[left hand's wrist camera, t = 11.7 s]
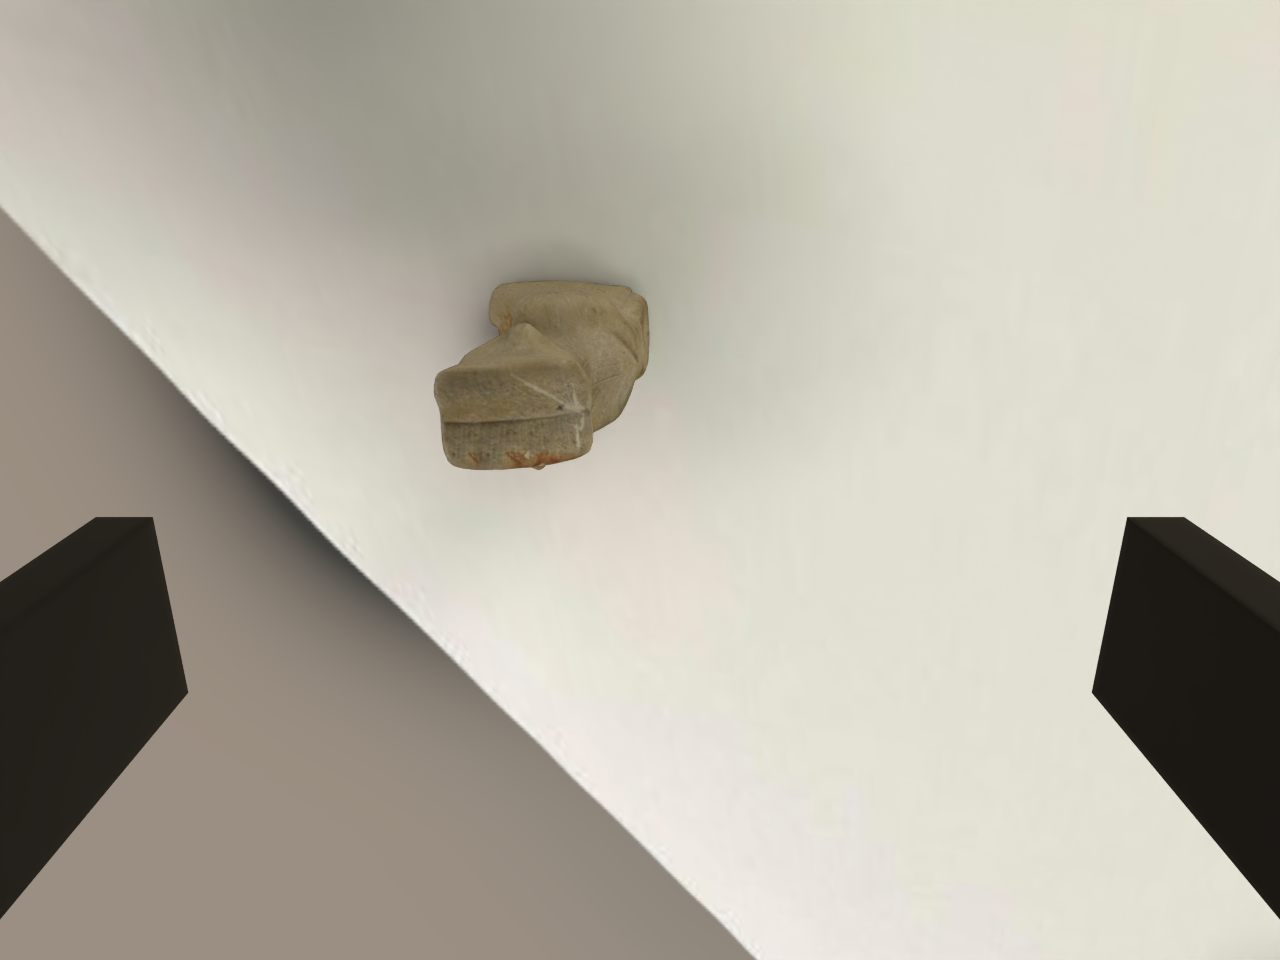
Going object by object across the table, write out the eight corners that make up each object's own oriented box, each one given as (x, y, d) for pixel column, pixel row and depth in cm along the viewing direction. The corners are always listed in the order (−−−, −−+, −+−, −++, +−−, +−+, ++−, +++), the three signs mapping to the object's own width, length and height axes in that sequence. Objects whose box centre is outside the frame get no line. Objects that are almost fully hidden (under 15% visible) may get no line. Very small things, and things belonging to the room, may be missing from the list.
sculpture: (491, 259, 41) (413, 322, 27) (649, 261, 41) (654, 324, 27) (497, 384, 43) (427, 502, 29) (647, 385, 43) (651, 504, 29)
